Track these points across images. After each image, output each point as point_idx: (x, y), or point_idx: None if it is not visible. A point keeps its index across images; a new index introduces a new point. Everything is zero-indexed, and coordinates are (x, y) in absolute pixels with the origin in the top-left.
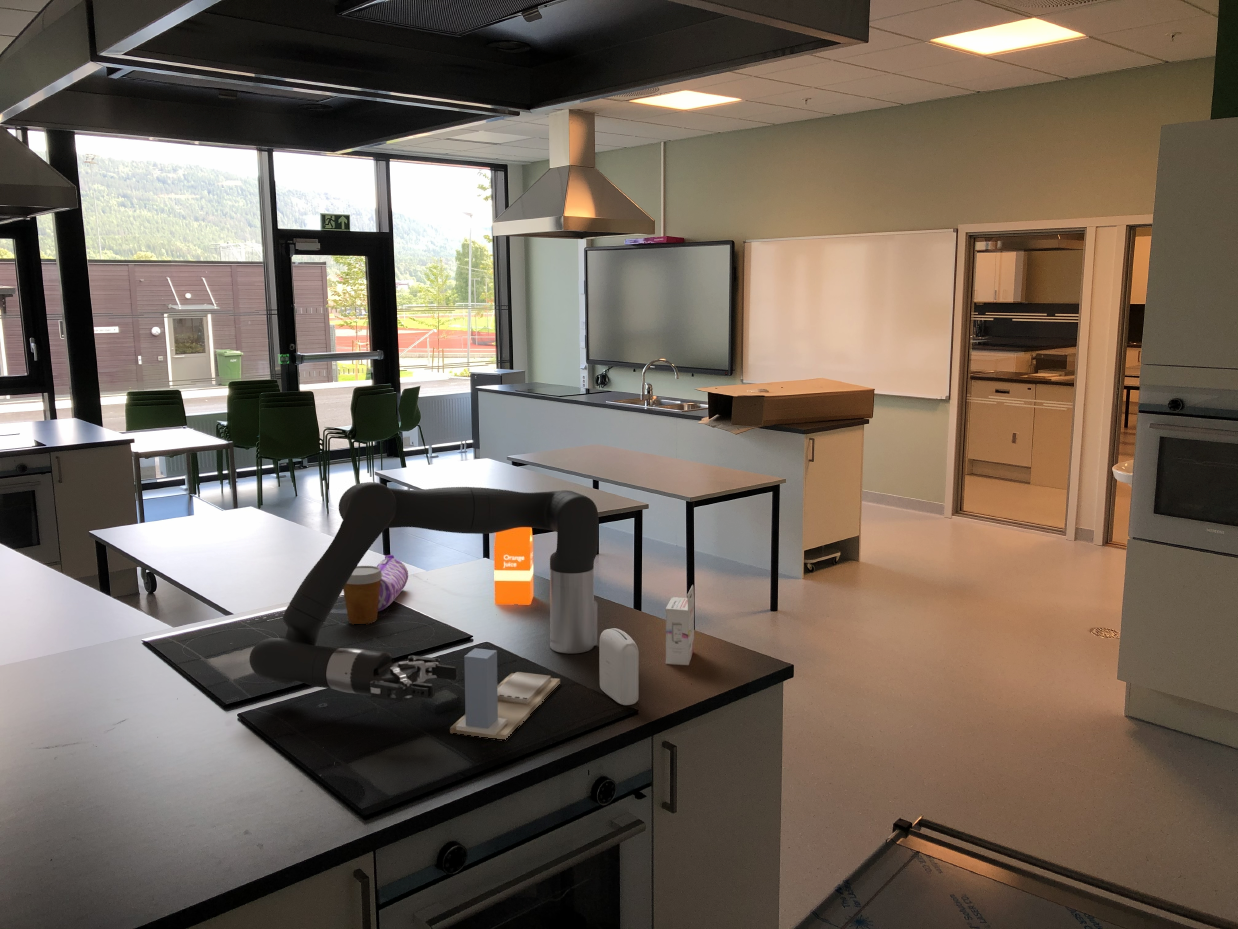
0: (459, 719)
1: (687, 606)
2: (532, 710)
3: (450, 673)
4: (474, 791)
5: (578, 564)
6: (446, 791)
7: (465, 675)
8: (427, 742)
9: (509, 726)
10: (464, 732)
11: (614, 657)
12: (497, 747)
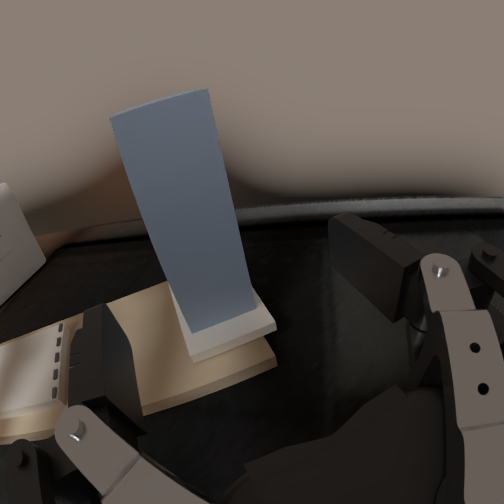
0: (216, 379)
1: None
2: None
3: (117, 344)
4: (369, 200)
5: None
6: (403, 212)
7: (222, 162)
8: (360, 357)
9: None
10: None
11: (5, 213)
12: (253, 263)
